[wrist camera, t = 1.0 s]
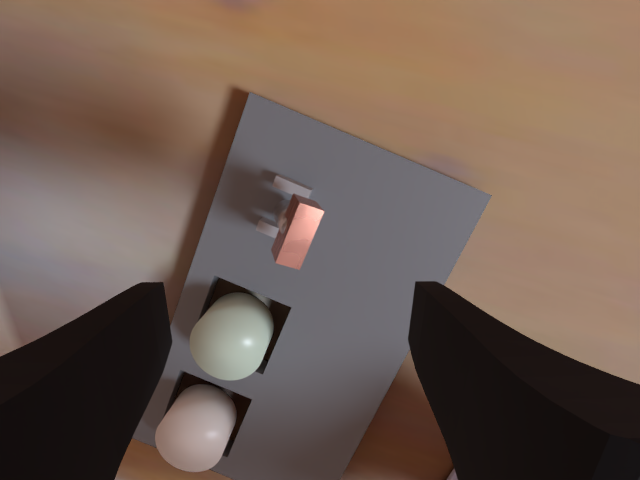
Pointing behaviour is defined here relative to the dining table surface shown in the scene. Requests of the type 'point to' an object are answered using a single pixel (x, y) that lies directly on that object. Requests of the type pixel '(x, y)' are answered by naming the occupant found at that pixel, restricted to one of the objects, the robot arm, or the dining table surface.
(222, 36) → the dining table surface
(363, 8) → the dining table surface
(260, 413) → the panel
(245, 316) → the sage button
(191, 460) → the pinkish beige button
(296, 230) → the toggle lever
